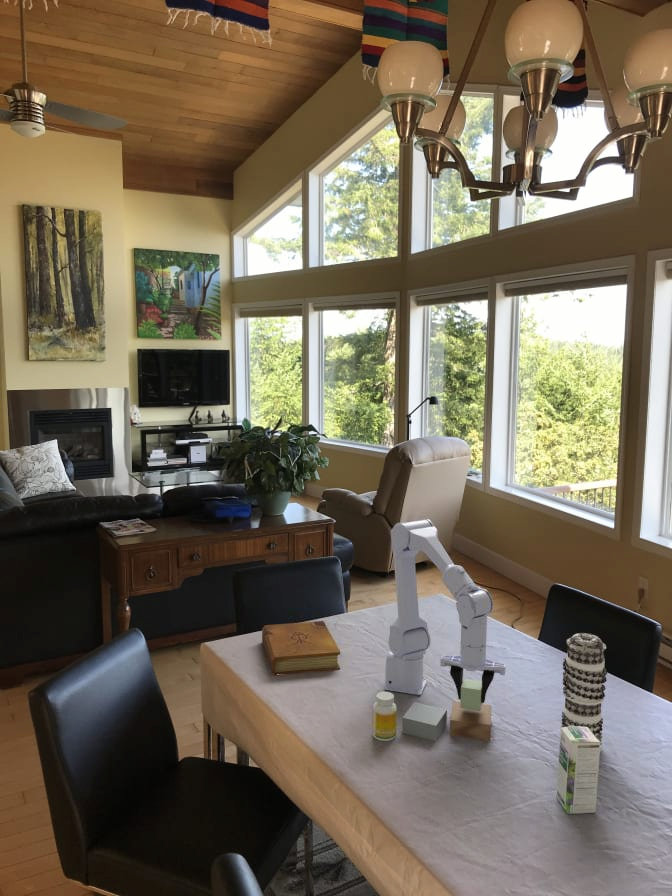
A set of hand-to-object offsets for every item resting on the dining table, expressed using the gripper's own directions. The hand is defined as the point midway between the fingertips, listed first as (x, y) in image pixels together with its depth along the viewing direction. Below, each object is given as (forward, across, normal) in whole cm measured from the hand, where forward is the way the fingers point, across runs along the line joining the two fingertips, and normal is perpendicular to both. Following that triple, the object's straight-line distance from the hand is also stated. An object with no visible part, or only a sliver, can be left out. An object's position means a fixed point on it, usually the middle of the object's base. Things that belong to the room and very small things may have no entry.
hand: (471, 699), depth 162 cm
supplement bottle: (+7, -18, -10) cm, 22 cm away
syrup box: (+7, +23, -22) cm, 33 cm away
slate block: (+7, -10, -4) cm, 13 cm away
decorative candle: (+7, +24, 0) cm, 25 cm away
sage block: (+2, 0, 0) cm, 2 cm away
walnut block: (+7, 0, 0) cm, 7 cm away
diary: (+8, -52, +24) cm, 58 cm away
